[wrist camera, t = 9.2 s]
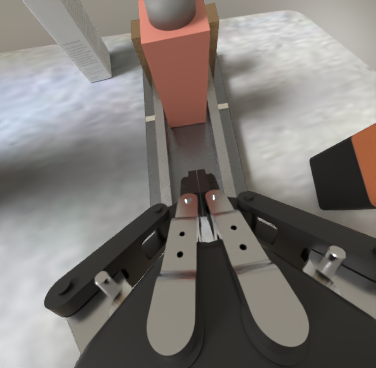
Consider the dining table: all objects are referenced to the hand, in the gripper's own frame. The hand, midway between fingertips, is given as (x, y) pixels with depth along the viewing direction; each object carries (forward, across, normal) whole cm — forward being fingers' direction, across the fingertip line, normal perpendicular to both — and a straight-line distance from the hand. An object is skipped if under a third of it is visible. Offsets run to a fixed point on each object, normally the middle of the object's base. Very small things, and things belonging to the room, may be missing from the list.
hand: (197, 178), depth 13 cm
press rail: (+11, 0, +2) cm, 12 cm away
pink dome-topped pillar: (+12, 0, +5) cm, 13 cm away
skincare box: (+22, -14, +13) cm, 30 cm away
